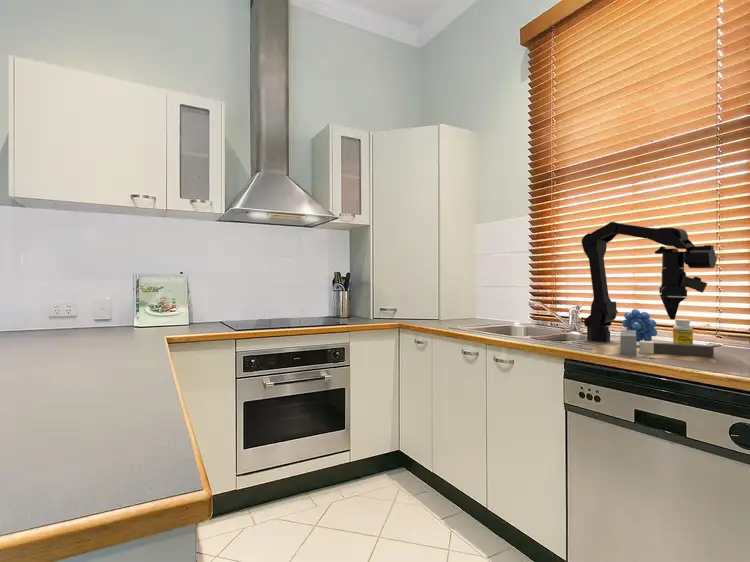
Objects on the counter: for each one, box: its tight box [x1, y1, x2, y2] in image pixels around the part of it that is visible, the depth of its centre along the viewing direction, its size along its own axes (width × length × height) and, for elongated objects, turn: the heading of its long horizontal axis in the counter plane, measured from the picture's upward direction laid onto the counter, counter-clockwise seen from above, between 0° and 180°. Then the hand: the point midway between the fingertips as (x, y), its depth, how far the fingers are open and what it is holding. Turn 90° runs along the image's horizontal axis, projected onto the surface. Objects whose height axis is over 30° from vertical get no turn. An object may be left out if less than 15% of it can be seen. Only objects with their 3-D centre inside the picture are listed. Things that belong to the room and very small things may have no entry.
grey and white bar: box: [636, 340, 715, 359], centre depth 124 cm, size 19×4×3 cm, turn 59°
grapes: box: [621, 308, 658, 342], centre depth 155 cm, size 12×7×12 cm, turn 38°
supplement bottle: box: [672, 318, 694, 345], centre depth 141 cm, size 5×5×10 cm
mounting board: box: [591, 344, 717, 364], centre depth 127 cm, size 30×18×1 cm, turn 59°
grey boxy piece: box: [619, 329, 637, 357], centre depth 130 cm, size 4×16×6 cm, turn 149°
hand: (671, 317), depth 133 cm, fingers open, 9 cm apart
